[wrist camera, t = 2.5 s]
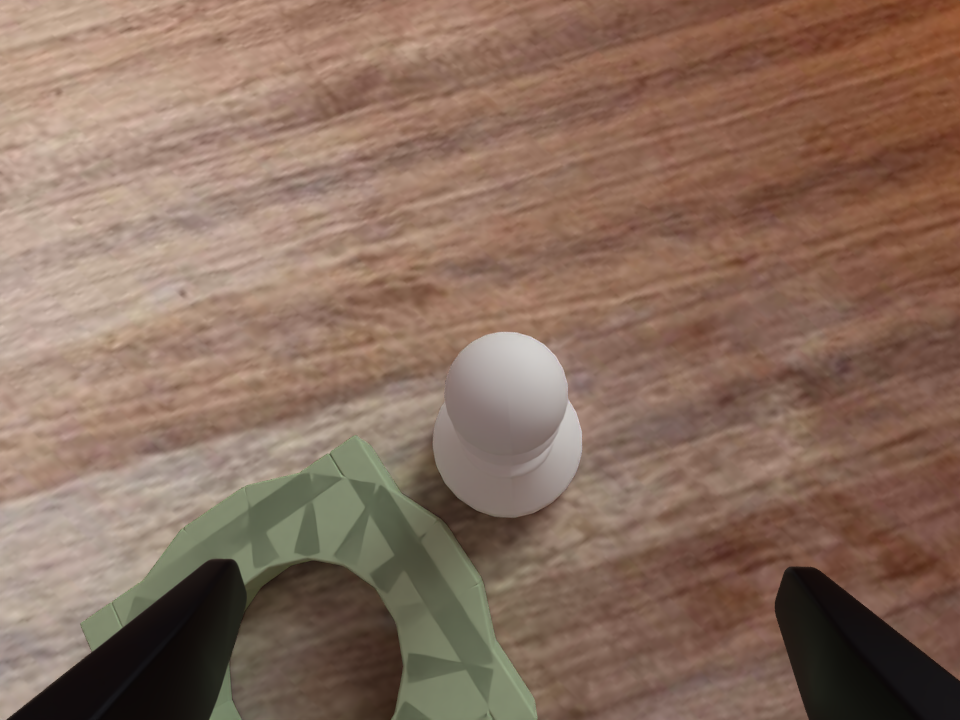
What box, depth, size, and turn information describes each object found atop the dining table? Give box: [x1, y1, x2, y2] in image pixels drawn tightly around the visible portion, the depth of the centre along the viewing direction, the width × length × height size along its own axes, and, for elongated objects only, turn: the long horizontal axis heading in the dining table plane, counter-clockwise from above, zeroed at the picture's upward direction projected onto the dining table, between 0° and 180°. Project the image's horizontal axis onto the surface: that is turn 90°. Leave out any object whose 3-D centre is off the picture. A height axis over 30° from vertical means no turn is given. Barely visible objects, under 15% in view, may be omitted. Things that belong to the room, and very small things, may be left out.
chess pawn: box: [432, 332, 582, 518], centre depth 16 cm, size 5×5×9 cm
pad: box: [80, 435, 537, 720], centre depth 17 cm, size 11×11×2 cm
